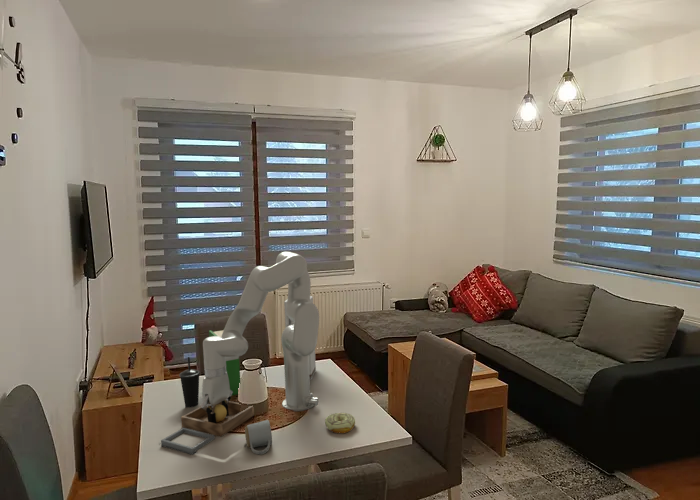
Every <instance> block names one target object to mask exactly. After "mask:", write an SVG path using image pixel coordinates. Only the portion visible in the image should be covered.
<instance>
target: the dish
mask: <svg viewBox="0 0 700 500" xmlns="http://www.w3.org/2000/svg"><path fill="white" fill-rule="evenodd" d="M182 434H188V435H193V436H197V437H200V438H204V439H203V440H202V441H200V442H198V443H197V444H195V445H194V446H190V445H185V444H182V443H179V442H178V443H177V442H174V441H171V440H173V439H175V438H176V437H178V436H180V435H182ZM213 440H215V435H212V434H208V433H204V432H200V431H196V430H192V429H188V428H184V427H181V428H180V429H178V430H177V431H175V432H174V433H171V434H170V435H168V436H166V437H164V438H163V439H161V440H160V442H161V443H160V446H161V447H163V448H167V449H171V450H174V451H178V452H180V453H181V452H182V453H184V454H189V455H192V456H193V455H195V454H197V453H198V451H197V450H199V449H201V448H202V447H204V446H206V445H208V444H209V443H210V442H212V441H213Z"/></svg>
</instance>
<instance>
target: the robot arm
mask: <svg viewBox="0 0 700 500" xmlns="http://www.w3.org/2000/svg"><path fill="white" fill-rule="evenodd" d="M307 268H308V262H307V260H306V258H305V257H304V256H302V255H301V254H298V253H296V252H292V251H282V252H280V253H279V254H278V255H277V256H276V260H275V264H274V265H272V266H268V267H267V266H266V265H265V266H264V265H257V266H256V267H254V268H252V271H250V274H249V276H248V279H247V282H246V284H245V287H244V289H243V292H242V294H241V297H240V299H239V302H238V304H237V305H236V307H235V308H234V309H233V311H232V312H231V313H230V315H229V317H228V319H227V322H226V323H225V326H224V328H223V330H224V331H223V334H222V337H220V336H212V337H209V336H208V337H206V338H204V339H203V341H202V352H203V367H204V377H203V379H202V385H201V387H202V388H201V391H202V392H201V397H202V398H201V400H202V403H201V406H200V407H201V408H202V409H203V410H204V411H206V413H208V422H212V423H216V414H215V413H214V410H215V405H216V404H218V403H220V402H221V405H223V406H224V407H225V408H226V411H227V414H226V416H229V412H228V405H229V401H231V397H232V396H233V395H232V393H233V391H232V390H230V385H229V379H228V374H227V372H226V366H227V365H226V357H237V356H239V357H241V356H243V355H245V354H246V353H247V351H248V349H249V343H248V341H247V339H246V338H245V337H244V336H243V333H244V332H245V330H246V327H247V325H248V323H249V321H251V319H253V317H256V316H257V315H258V314H260V313H261V311H262V309H263V306H264V305H265V304H264V303H265V301H266V299H267V296H268V294H269V293H271V292H274V291H276V290H279V289H281V288H284V286H285V287H286V285H287V286H288V287H287V288H288V289H287V299H286V300H287V309H286V312H287V316H288V318H289V319H290V320H292V321H293V322H294V324H293V325H289V326H287V327H286V328H285V327H284V329H283V331H282V333H281V339H280V340H281V347H282V351H283V352H282V354H283V363H284V365H283V366H284V386H285V390H284V391H285V399H284V400H283V401H282V403H281V407H283V408H284V409H287V410H290V411H292V412H303V411H307V410H310V409H312V408H313V407H314V406H318V404H319V398H318V397H314V395H313V394H314V393H313V392H311V381H310V380H311V379H310V376H309V356H308V355H310V354H311V353H312V352H313V351H314V350H315V351H316V348H317V344H318V334H319V324H320V313H319V308H318V307H317V306H316V304H314V302H313V303H312V302H310V296H311V286H312V284H311V277H310V274H309V273H310V272H309V270H308V269H307ZM231 395H232V396H231ZM210 403H211V404H210ZM210 406H212V408H211V409H210Z"/></svg>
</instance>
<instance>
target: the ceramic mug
mask: <svg viewBox="0 0 700 500" xmlns="http://www.w3.org/2000/svg"><path fill="white" fill-rule="evenodd" d="M271 427H272V426H271V423H270V420H269V419H266V420H262V421H258V422H255V423H251V424H248V425H245V427H244V435H245V442H246V446H247V448H250V449H251V451H252V452H253V454H256V455H264V454H266V453H267V452H268V451H269V449H270V447H271V445H272V444H273V435H272V429H271ZM264 446H266V447H265V448H263V450H256V449H254V448H258V447H264Z"/></svg>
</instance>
